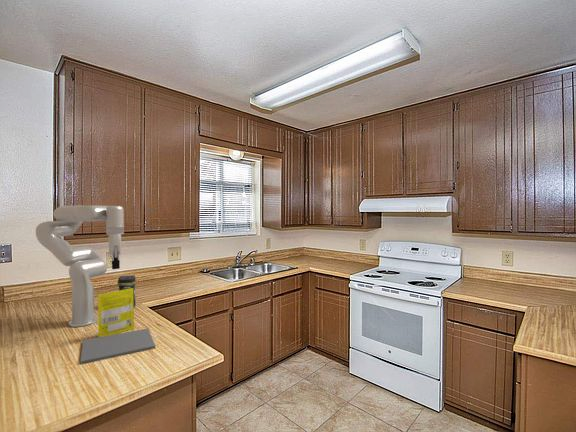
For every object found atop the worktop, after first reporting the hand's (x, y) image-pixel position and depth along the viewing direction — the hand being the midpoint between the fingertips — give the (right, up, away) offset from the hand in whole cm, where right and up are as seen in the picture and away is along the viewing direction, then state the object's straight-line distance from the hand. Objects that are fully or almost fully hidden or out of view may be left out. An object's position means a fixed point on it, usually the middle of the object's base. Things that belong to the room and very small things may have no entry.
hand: (115, 268), depth 151 cm
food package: (+4, -30, -7) cm, 31 cm away
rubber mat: (+12, -30, -19) cm, 37 cm away
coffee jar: (-11, -29, +33) cm, 45 cm away
